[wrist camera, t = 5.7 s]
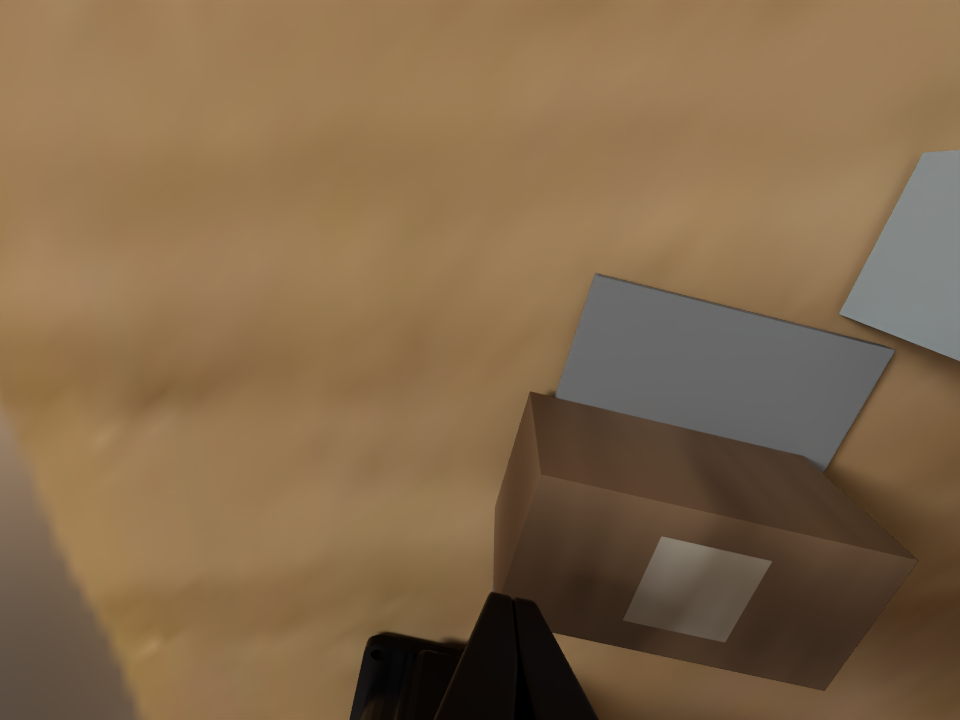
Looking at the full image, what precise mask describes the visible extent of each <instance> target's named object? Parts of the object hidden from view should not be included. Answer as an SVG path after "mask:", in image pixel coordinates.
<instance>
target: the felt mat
mask: <svg viewBox="0 0 960 720" xmlns="http://www.w3.org/2000/svg"><path fill="white" fill-rule="evenodd" d="M894 352H895V350H893V349H891V348H889V347H886V346H884V345H880V344H876V343H872V342H868V341H864V340H860V339H856V338H852V337H848V336H844V335H840V334H836V333H832V332H828V331H824V330H820V329H816V328H812V327H808V326H804V325H800V324H796V323H793V322H789V321H785V320H781V319H777V318H773V317H769V316H765V315H761V314H757V313H753V312H749V311H745V310H741V309H737V308H733V307H729V306H725V305H721V304H717V303H713V302H709V301H705V300H701V299H697V298H693V297H689V296H685V295H681V294H677V293H673V292H669V291H665V290H661V289H657V288H653V287H649V286H645V285H641V284H637V283H633V282H629V281H625V280H621V279H617V278H613V277H609V276H606V275H602V274H598V273H595V275H594V278H593V281H592V284H591V287H590V290H589V293H588V296H587V299H586V302H585V305H584V308H583V311H582V314H581V318H580V321H579V324H578V327H577V330H576V333H575V336H574V339H573V342H572V345H571V348H570V351H569V354H568V357H567V360H566V363H565V366H564V370H563V373H562V376H561V379H560V382H559V385H558V388H557V391H556V394H555V397H556V398H560V399H564V400H568V401H572V402H577V403H581V404H585V405H589V406H594V407H598V408H602V409H606V410H611V411H615V412H619V413H623V414H628V415H632V416H636V417H640V418H645V419H649V420H653V421H657V422H662V423H666V424H670V425H674V426H679V427H683V428H687V429H691V430H696V431H700V432H704V433H708V434H713V435H717V436H721V437H725V438H730V439H734V440H738V441H742V442H747V443H751V444H755V445H759V446H763V447H768V448H772V449H776V450H780V451H785V452H789V453H793V454H797V455H802V456H804V457H805V458H806V459H807V460H808V461H810V462H811V463H812V464H813V465H814V466H815V467H816V468H817V469H818V470H819V471H821V472H822V473H824V471H825V469H826V468H827V466H828V464H829V463H830V461H831V459H832V457H833V456H834V454H835V452H836V451H837V449H838V447H839V445H840V444H841V442H842V440H843V439H844V437H845V435H846V434H847V432H848V430H849V428H850V427H851V425H852V423H853V422H854V420H855V418H856V416H857V415H858V413H859V411H860V410H861V408H862V406H863V405H864V403H865V401H866V399H867V398H868V396H869V394H870V393H871V391H872V389H873V387H874V386H875V384H876V382H877V381H878V379H879V377H880V376H881V374H882V372H883V370H884V369H885V367H886V365H887V364H888V362H889V360H890V358H891V357H892V355H893V353H894ZM492 592H493V587H492Z"/></svg>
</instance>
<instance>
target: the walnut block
mask: <svg viewBox="0 0 960 720" xmlns="http://www.w3.org/2000/svg"><path fill="white" fill-rule="evenodd" d="M918 561H919V560H917V559H916V558H915V557H914V556H913V555H912V554H911V553H910V552H909V551H907V550H906V549H905V548H904V547H903V546H902V545H901V544H900V543H899V542H898V541H896V540H895V539H894V538H893V537H892V536H891V535H890V534H889V533H888V532H887V531H885V530H884V529H883V528H882V527H881V526H880V525H879V524H878V523H877V522H876V521H874V520H873V519H872V518H871V517H870V516H869V515H868V514H867V513H866V512H865V511H863V510H862V509H861V508H860V507H859V506H858V505H857V504H856V503H855V502H854V501H852V500H851V499H850V498H849V497H848V496H847V495H846V494H845V493H844V492H843V491H841V490H840V489H839V488H838V487H837V486H836V485H835V484H834V483H833V482H832V481H830V480H829V479H828V478H827V477H826V476H825V475H824V474H823V473H822V472H821V471H819V470H818V469H817V468H816V467H815V466H814V465H813V464H812V463H811V462H810V461H808V460H807V459H806V458H805V457H804V456H802V455H797V454H793V453H789V452H785V451H780V450H776V449H772V448H768V447H763V446H759V445H755V444H751V443H747V442H742V441H738V440H734V439H730V438H725V437H721V436H717V435H713V434H708V433H704V432H700V431H696V430H691V429H687V428H683V427H679V426H674V425H670V424H666V423H662V422H657V421H653V420H649V419H645V418H640V417H636V416H632V415H628V414H623V413H619V412H615V411H611V410H606V409H602V408H598V407H594V406H589V405H585V404H581V403H577V402H572V401H568V400H564V399H560V398H556V397H551V396H547V395H543V394H539V393H534V392H530V393H529V396H528V400H527V403H526V406H525V410H524V413H523V416H522V419H521V423H520V426H519V429H518V433H517V436H516V439H515V443H514V446H513V449H512V453H511V456H510V459H509V463H508V466H507V469H506V473H505V476H504V479H503V483H502V486H501V489H500V492H499V496H498V499H497V502H496V506H495V530H494V578H493V592H496V593H501V594H505V595H509V596H510V597H511V598H514V597H519V598H524V599H528V600H532V601H534V602H535V603H536V604H537V606H538V608H539V609H540V611H541V613H542V615H543V617H544V619H545V621H546V622H547V624H548V626H549V628H550V630H551V632H552V633H557V634H562V635H566V636H571V637H576V638H580V639H585V640H590V641H594V642H599V643H604V644H608V645H613V646H618V647H622V648H627V649H632V650H636V651H641V652H646V653H650V654H655V655H660V656H664V657H669V658H674V659H678V660H683V661H688V662H692V663H697V664H702V665H706V666H711V667H716V668H720V669H725V670H730V671H734V672H739V673H744V674H748V675H753V676H758V677H762V678H767V679H772V680H776V681H781V682H786V683H790V684H795V685H800V686H804V687H809V688H814V689H818V690H823V691H825V690H826V688H827V687H828V685H829V684H830V683H831V681H832V680H833V678H834V677H835V676H836V674H837V673H838V672H839V670H840V669H841V667H842V666H843V665H844V663H845V662H846V660H847V659H848V658H849V656H850V655H851V653H852V652H853V651H854V649H855V648H856V647H857V645H858V644H859V642H860V641H861V640H862V638H863V637H864V635H865V634H866V633H867V631H868V630H869V629H870V627H871V626H872V624H873V623H874V622H875V620H876V619H877V617H878V616H879V615H880V613H881V612H882V611H883V609H884V608H885V606H886V605H887V604H888V602H889V601H890V599H891V598H892V597H893V595H894V594H895V592H896V591H897V590H898V588H899V587H900V586H901V584H902V583H903V581H904V580H905V579H906V577H907V576H908V574H909V573H910V572H911V570H912V569H913V568H914V566H915V565H916V563H917V562H918Z"/></svg>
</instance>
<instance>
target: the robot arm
mask: <svg viewBox="0 0 960 720" xmlns="http://www.w3.org/2000/svg"><path fill="white" fill-rule="evenodd" d="M350 720H599V719H598V717H597V715H596V714H595V712H594V710H593V708H592V706H591V704H590V702H589V701H588V699H587V697H586V695H585V693H584V691H583V689H582V688H581V686H580V684H579V682H578V680H577V678H576V676H575V675H574V673H573V671H572V669H571V667H570V665H569V663H568V662H567V660H566V658H565V656H564V654H563V652H562V650H561V649H560V647H559V645H558V643H557V641H556V639H555V637H554V635H553V634H552V632H551V630H550V628H549V626H548V624H547V622H546V621H545V619H544V617H543V615H542V613H541V611H540V609H539V608H538V606H537V604H536V603H535V602H534V601H532V600H528V599H524V598H519V597H514V598H511V597H510V596H509V595H505V594H501V593H496V592H491V593H489V595H488V597H487V600H486V602H485V604H484V606H483V609H482V611H481V613H480V616H479V618H478V620H477V622H476V625H475V627H474V629H473V631H472V634H471V636H470V638H469V640H468V643H467V645H466V647H465V650H464V652H459V651H454V650H449V649H444V648H440V647H435V646H430V645H426V644H421V643H416V642H412V641H407V640H402V639H398V638H393V637H388V636H384V635H375V636H372V637H371V638H369V639H368V641H367V644H366V647H365V651H364V655H363V659H362V664H361V669H360V673H359V678H358V683H357V687H356V692H355V697H354V701H353V706H352V711H351V715H350Z"/></svg>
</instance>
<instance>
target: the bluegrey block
mask: <svg viewBox="0 0 960 720" xmlns="http://www.w3.org/2000/svg"><path fill="white" fill-rule="evenodd" d="M839 314H840V315H843V316H845V317H848V318H850V319H853V320H856V321H858V322H861V323H863V324H866V325H868V326H871V327H873V328H876V329H879V330H881V331H884V332H886V333H889V334H891V335H894V336H897V337H899V338H902V339H904V340H907V341H909V342H912V343H915V344H917V345H920V346H922V347H925V348H927V349H930V350H933V351H935V352H938V353H940V354H943V355H945V356H948V357H951V358H953V359H956V360H958V361H960V150H953V151H939V152H925V153H923V154H922V156H921V158H920V160H919V162H918V164H917V166H916V168H915V170H914V172H913V174H912V175H911V177H910V179H909V181H908V183H907V185H906V187H905V189H904V191H903V193H902V195H901V196H900V198H899V200H898V202H897V204H896V206H895V208H894V210H893V212H892V214H891V216H890V218H889V219H888V221H887V223H886V225H885V227H884V229H883V231H882V233H881V235H880V237H879V239H878V240H877V242H876V244H875V246H874V248H873V250H872V252H871V254H870V256H869V258H868V260H867V261H866V263H865V265H864V267H863V269H862V271H861V273H860V275H859V277H858V279H857V281H856V283H855V284H854V286H853V288H852V290H851V292H850V294H849V296H848V298H847V300H846V302H845V304H844V305H843V307H842V309H841V311H840V313H839Z"/></svg>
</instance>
